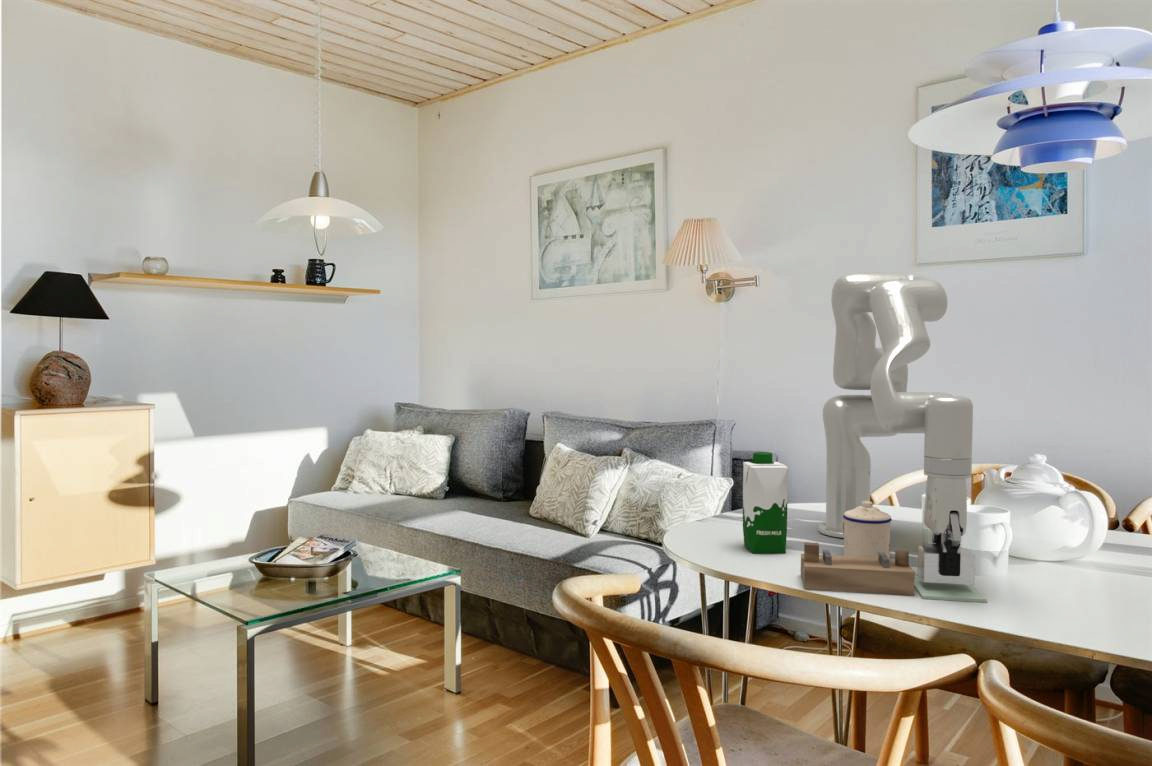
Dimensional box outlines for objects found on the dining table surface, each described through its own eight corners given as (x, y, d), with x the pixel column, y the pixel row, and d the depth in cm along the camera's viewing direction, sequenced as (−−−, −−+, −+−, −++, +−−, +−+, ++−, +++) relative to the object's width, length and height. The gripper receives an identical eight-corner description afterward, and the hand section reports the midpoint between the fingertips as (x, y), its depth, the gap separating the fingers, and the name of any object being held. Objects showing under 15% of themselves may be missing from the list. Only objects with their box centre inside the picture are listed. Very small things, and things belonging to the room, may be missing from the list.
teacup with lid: (901, 563, 156) (902, 504, 155) (862, 567, 153) (862, 507, 152) (861, 549, 167) (862, 494, 167) (824, 552, 164) (825, 496, 164)
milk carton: (779, 543, 171) (780, 451, 171) (791, 554, 162) (792, 457, 162) (738, 544, 171) (739, 451, 170) (749, 554, 162) (749, 457, 161)
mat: (907, 578, 145) (907, 576, 145) (966, 582, 143) (966, 579, 143) (922, 598, 133) (922, 595, 133) (986, 602, 131) (986, 599, 131)
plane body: (800, 575, 148) (801, 537, 147) (903, 580, 144) (904, 542, 144) (804, 589, 139) (804, 549, 138) (914, 595, 135) (914, 554, 135)
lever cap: (917, 573, 142) (918, 541, 141) (965, 576, 140) (966, 544, 140) (923, 582, 137) (924, 548, 136) (974, 584, 135) (974, 551, 135)
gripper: (913, 459, 147) (912, 557, 147) (936, 473, 130) (933, 583, 131) (957, 461, 145) (955, 559, 146) (985, 475, 128) (983, 586, 129)
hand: (945, 569), depth 138 cm, fingers closed on lever cap, 4 cm apart
